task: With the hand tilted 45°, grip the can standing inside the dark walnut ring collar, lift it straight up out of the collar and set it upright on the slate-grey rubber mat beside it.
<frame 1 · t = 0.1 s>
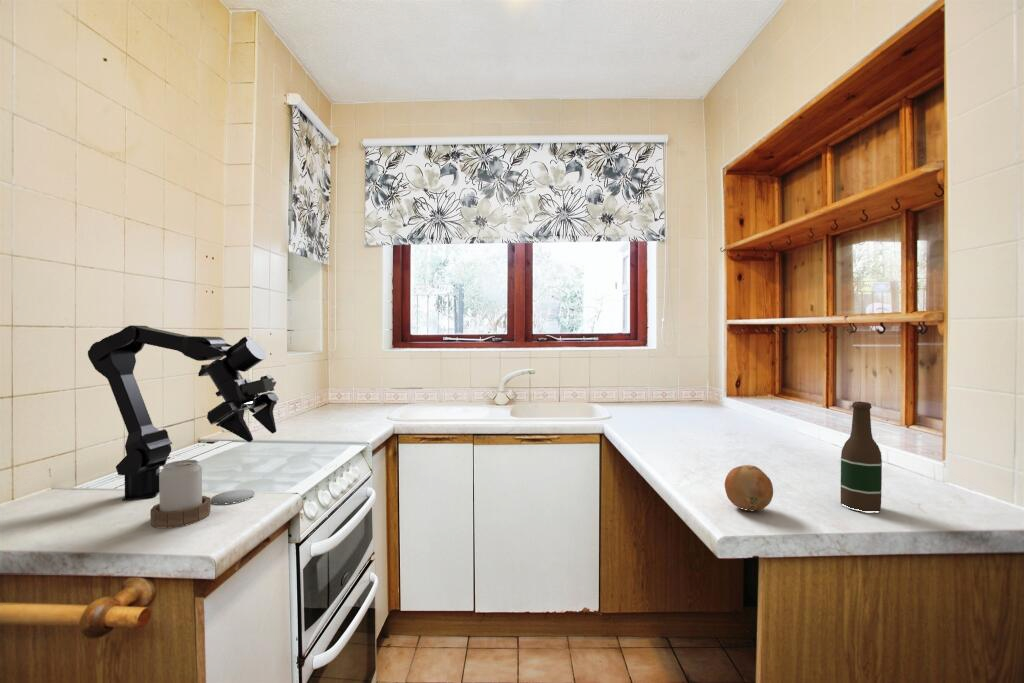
hand: (263, 436, 111), 15 cm above the countertop, tool tilted 35°, fingers open, 9 cm apart
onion: (748, 510, 104), on the countertop
mat: (233, 497, 112), on the countertop
beer bottle: (860, 508, 105), on the countertop
collar: (181, 517, 99), on the countertop
can: (181, 518, 99), resting in collar
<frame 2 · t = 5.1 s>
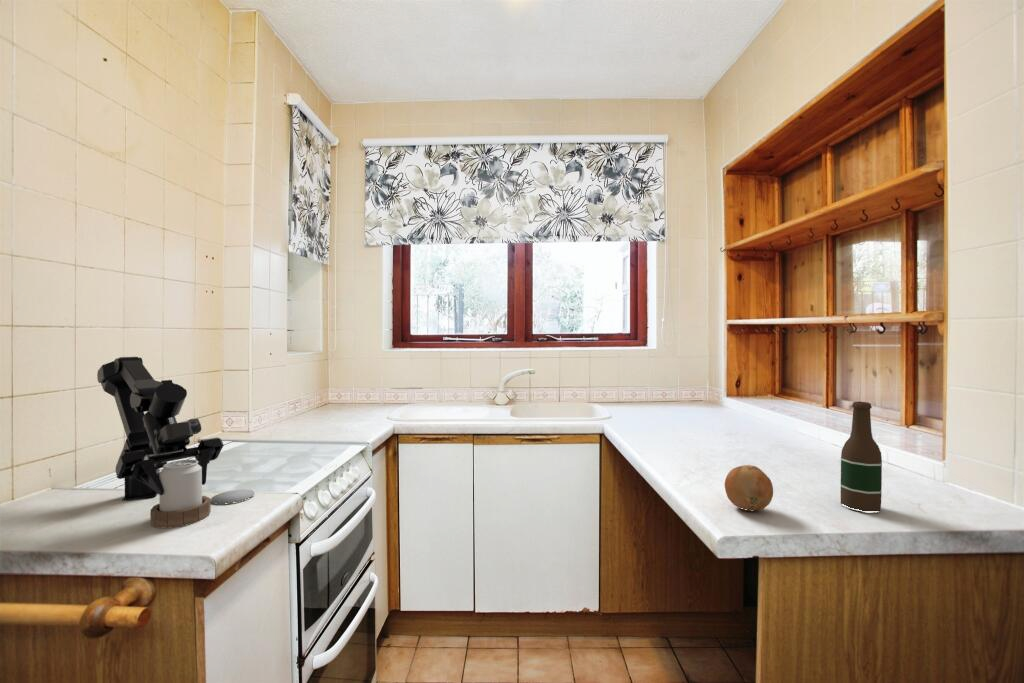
hand: (183, 488, 98), 7 cm above the countertop, tool tilted 45°, fingers closed on can, 7 cm apart
can: (181, 518, 99), resting in collar, touching gripper
everything else where it was.
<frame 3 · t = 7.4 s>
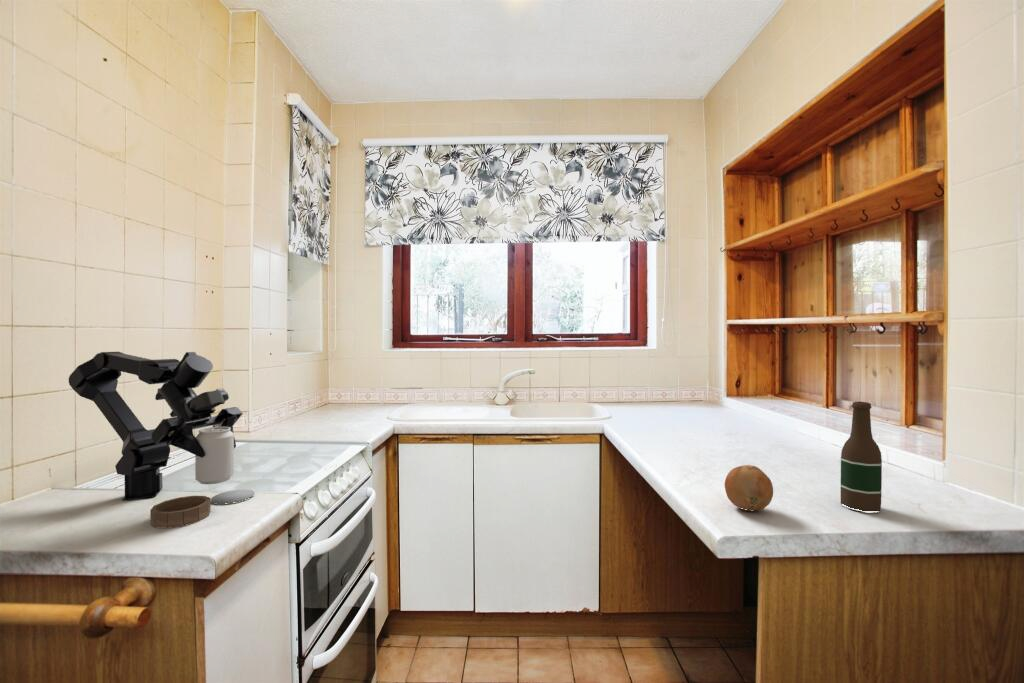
hand: (219, 451, 106), 13 cm above the countertop, tool tilted 45°, fingers closed on can, 7 cm apart
can: (215, 481, 106), point 6 cm above the countertop, touching gripper
everything else where it was.
when the fingers open (8 cm above the countertop, at t = 9.8 s): can stays where it is, resting on mat.
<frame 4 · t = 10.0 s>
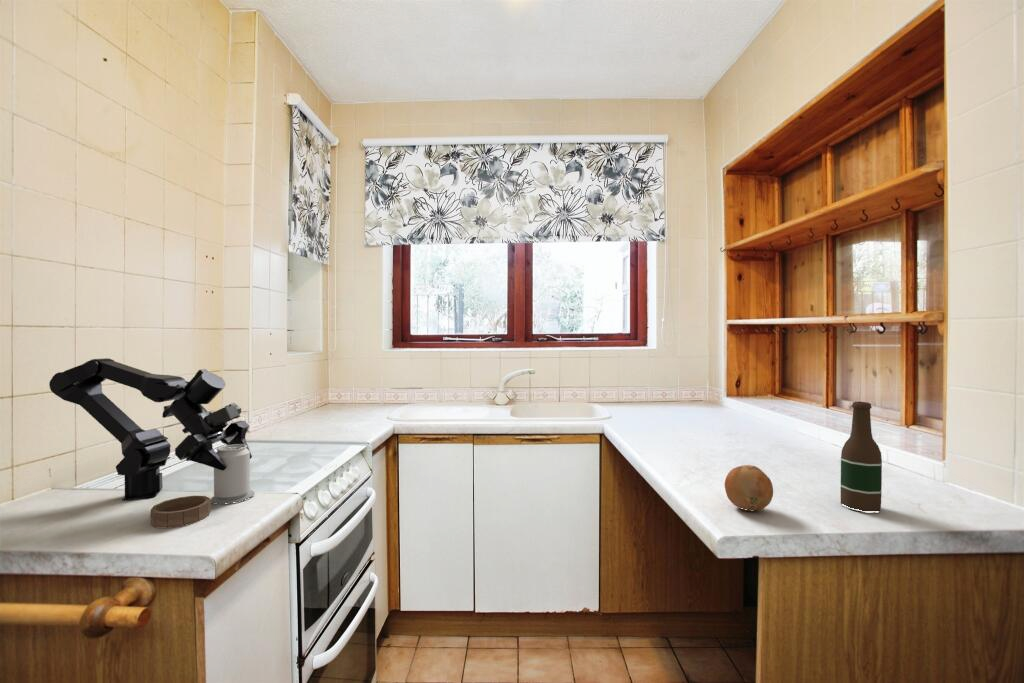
hand: (238, 463, 111), 8 cm above the countertop, tool tilted 45°, fingers open, 9 cm apart
can: (232, 496, 112), resting on mat
everything else where it was.
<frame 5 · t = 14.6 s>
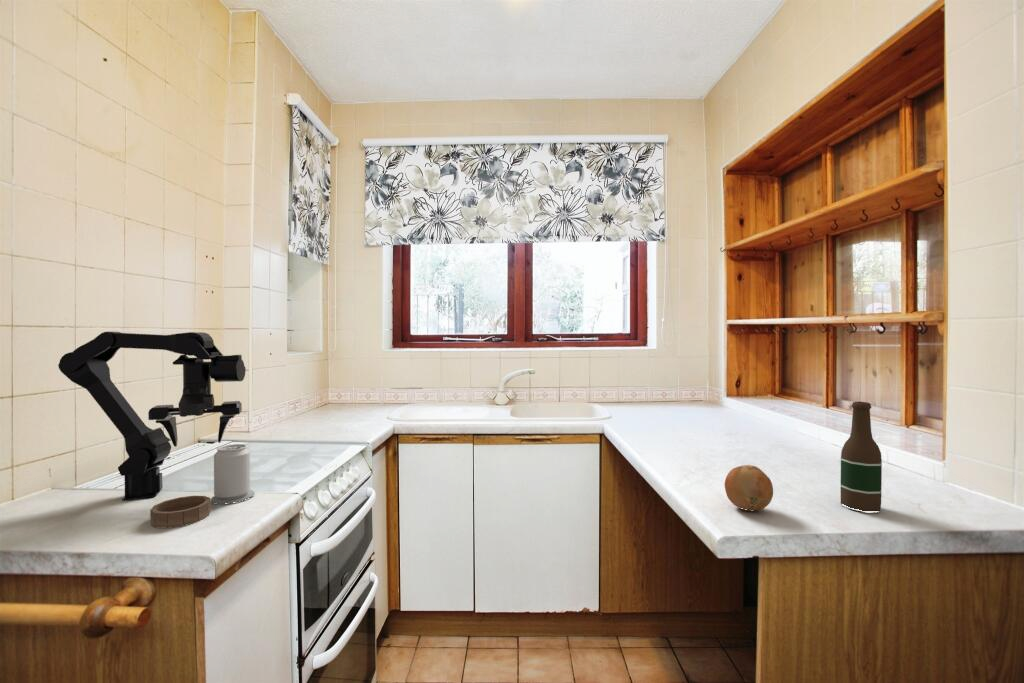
hand: (197, 444, 116), 12 cm above the countertop, tool pointing down, fingers open, 9 cm apart
nothing on the countertop moved.
at the end: can 0.2 cm off-centre on the mat, point 0.3 cm above the mat's base; can tilted 0°; the gripper is holding nothing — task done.
